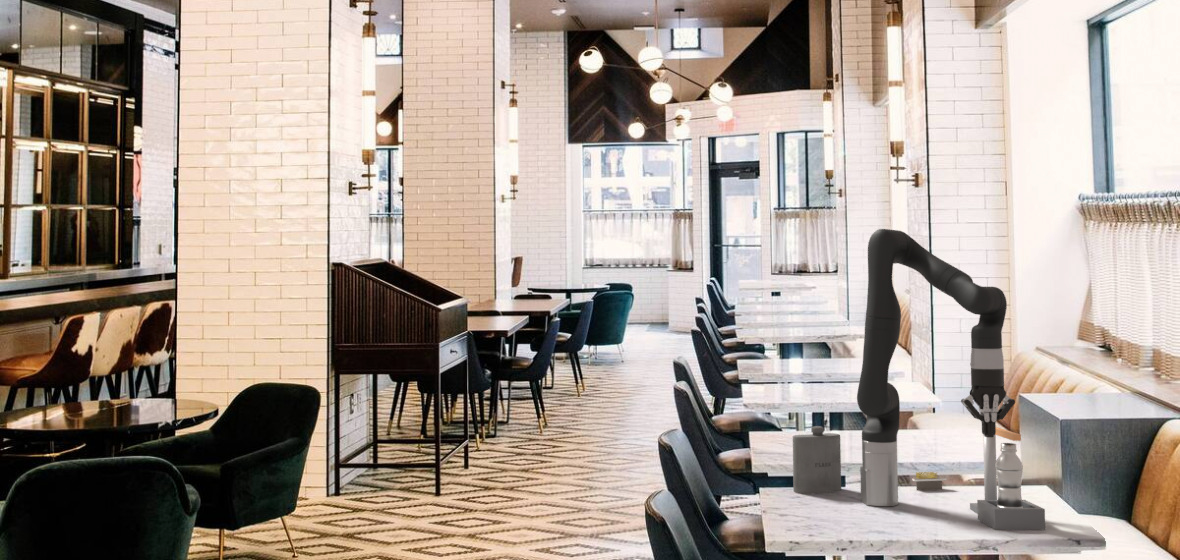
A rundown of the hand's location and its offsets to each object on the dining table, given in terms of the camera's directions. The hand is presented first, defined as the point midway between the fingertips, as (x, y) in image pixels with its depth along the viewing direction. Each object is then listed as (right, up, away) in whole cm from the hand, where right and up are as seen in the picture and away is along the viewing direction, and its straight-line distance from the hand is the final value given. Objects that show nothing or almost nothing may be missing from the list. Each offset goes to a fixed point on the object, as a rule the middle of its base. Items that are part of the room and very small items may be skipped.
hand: (989, 436), depth 226 cm
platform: (0, -24, +41) cm, 48 cm away
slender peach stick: (+6, -1, +7) cm, 9 cm away
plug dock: (+6, -23, +8) cm, 25 cm away
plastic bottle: (+6, -23, +2) cm, 23 cm away
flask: (-32, -24, +39) cm, 56 cm away
